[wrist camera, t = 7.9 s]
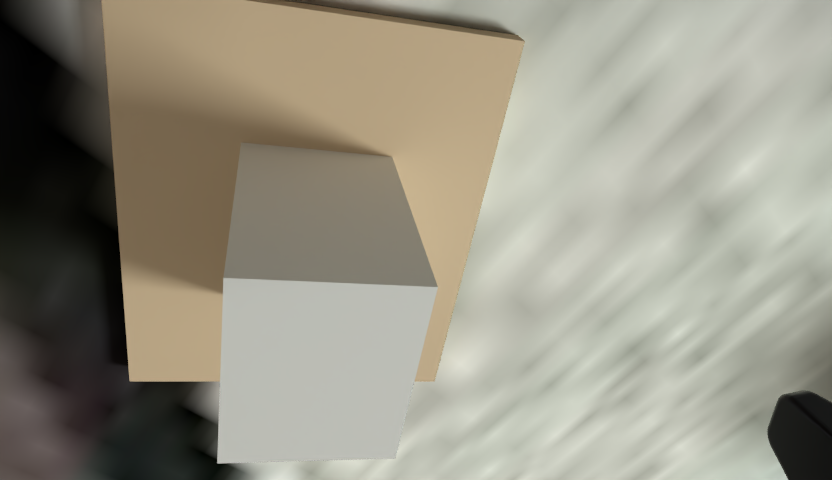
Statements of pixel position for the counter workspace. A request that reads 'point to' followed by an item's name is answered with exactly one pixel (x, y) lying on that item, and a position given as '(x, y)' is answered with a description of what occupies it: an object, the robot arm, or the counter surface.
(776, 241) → the counter surface
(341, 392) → the white rectangular block
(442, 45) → the mat
